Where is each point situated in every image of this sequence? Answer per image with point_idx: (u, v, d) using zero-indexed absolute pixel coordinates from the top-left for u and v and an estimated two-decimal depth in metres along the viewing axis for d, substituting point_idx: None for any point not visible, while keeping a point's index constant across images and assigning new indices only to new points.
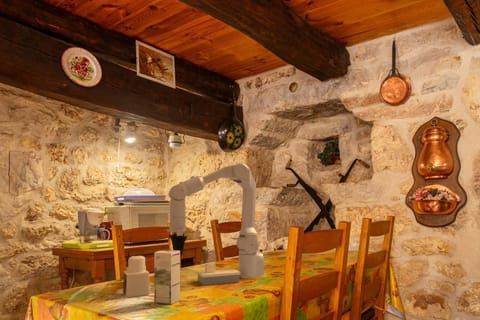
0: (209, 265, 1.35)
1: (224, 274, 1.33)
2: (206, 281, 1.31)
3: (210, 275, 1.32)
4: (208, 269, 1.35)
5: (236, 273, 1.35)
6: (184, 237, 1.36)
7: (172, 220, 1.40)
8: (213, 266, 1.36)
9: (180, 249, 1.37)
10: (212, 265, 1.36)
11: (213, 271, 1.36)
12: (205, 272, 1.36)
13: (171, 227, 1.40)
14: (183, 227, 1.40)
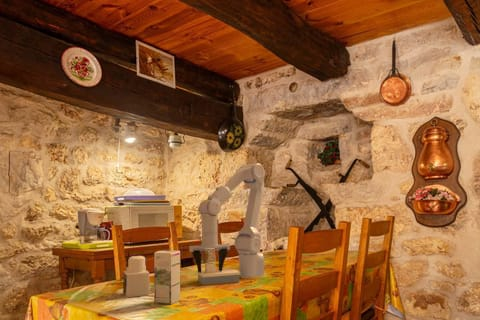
0: (209, 265, 1.35)
1: (224, 274, 1.33)
2: (206, 281, 1.31)
3: (210, 275, 1.32)
4: (208, 269, 1.35)
5: (236, 273, 1.35)
6: (194, 254, 1.34)
7: None
8: (213, 266, 1.36)
9: (198, 266, 1.35)
10: (212, 265, 1.36)
11: (213, 271, 1.36)
12: (205, 272, 1.36)
13: None
14: (205, 244, 1.35)
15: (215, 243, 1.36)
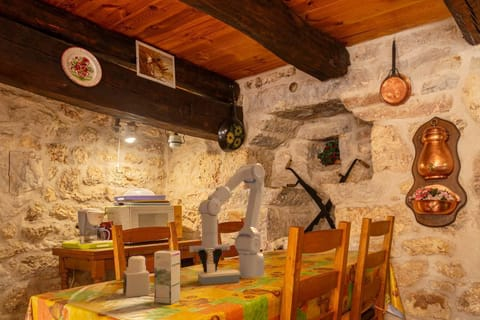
0: (209, 265, 1.35)
1: (224, 274, 1.33)
2: (206, 281, 1.31)
3: (210, 275, 1.32)
4: (208, 269, 1.35)
5: (236, 273, 1.35)
6: (200, 254, 1.35)
7: None
8: (213, 266, 1.36)
9: (204, 265, 1.36)
10: (212, 265, 1.36)
11: (213, 271, 1.36)
12: (205, 272, 1.36)
13: None
14: (205, 244, 1.35)
15: (215, 243, 1.36)
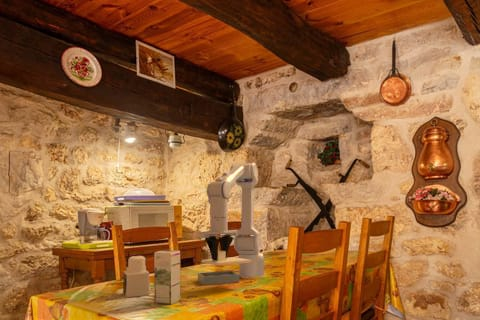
0: (220, 253, 1.24)
1: (237, 262, 1.24)
2: (206, 281, 1.31)
3: (225, 263, 1.21)
4: (219, 257, 1.24)
5: (248, 261, 1.26)
6: (211, 240, 1.22)
7: None
8: (224, 254, 1.25)
9: (214, 253, 1.24)
10: (223, 253, 1.25)
11: (224, 259, 1.25)
12: (215, 260, 1.24)
13: None
14: (216, 229, 1.24)
15: (226, 228, 1.26)
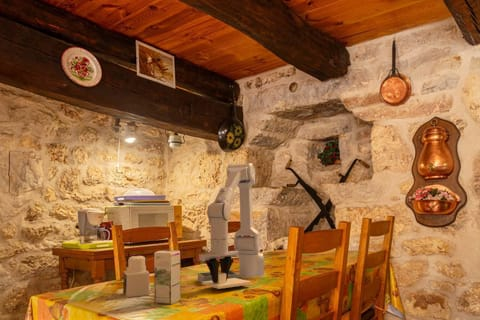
0: (221, 275, 1.23)
1: (238, 284, 1.23)
2: None
3: (225, 286, 1.20)
4: (219, 279, 1.23)
5: (248, 283, 1.26)
6: (212, 262, 1.21)
7: None
8: (224, 276, 1.24)
9: (214, 275, 1.23)
10: (223, 275, 1.24)
11: (224, 281, 1.24)
12: (215, 283, 1.23)
13: None
14: (217, 251, 1.23)
15: (227, 250, 1.25)
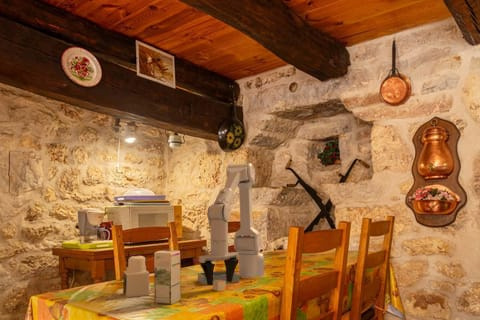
0: (220, 283, 1.23)
1: None
2: (206, 281, 1.31)
3: None
4: (219, 287, 1.22)
5: None
6: (207, 265, 1.20)
7: None
8: (224, 284, 1.23)
9: (209, 278, 1.21)
10: (223, 283, 1.23)
11: (224, 289, 1.23)
12: None
13: None
14: (217, 253, 1.23)
15: (227, 252, 1.25)
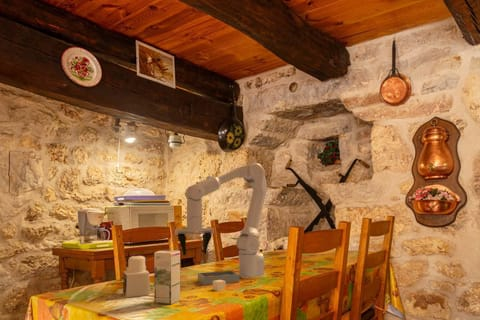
0: (220, 283, 1.23)
1: None
2: (206, 281, 1.31)
3: None
4: (219, 287, 1.22)
5: None
6: (179, 237, 1.39)
7: None
8: (224, 284, 1.23)
9: (183, 248, 1.40)
10: (223, 283, 1.23)
11: (224, 289, 1.23)
12: None
13: None
14: (189, 227, 1.40)
15: (199, 226, 1.41)
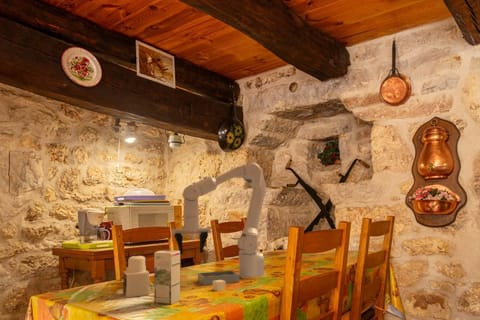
0: (220, 283, 1.23)
1: None
2: (206, 281, 1.31)
3: None
4: (219, 287, 1.22)
5: None
6: (176, 236, 1.42)
7: None
8: (224, 284, 1.23)
9: (180, 248, 1.43)
10: (223, 283, 1.23)
11: (224, 289, 1.23)
12: None
13: None
14: (186, 227, 1.43)
15: (196, 226, 1.44)
